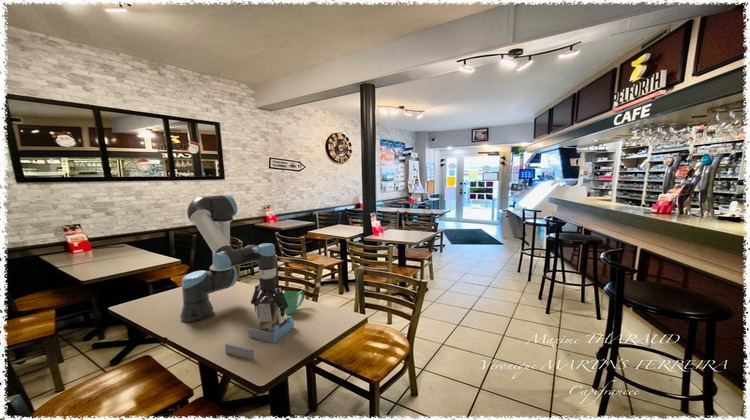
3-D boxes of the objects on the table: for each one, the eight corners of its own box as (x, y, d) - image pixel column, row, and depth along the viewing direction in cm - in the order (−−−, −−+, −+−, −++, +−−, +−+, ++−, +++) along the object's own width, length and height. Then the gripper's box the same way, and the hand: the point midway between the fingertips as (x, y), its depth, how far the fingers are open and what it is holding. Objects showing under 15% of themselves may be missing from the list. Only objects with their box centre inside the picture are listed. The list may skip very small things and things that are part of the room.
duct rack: (225, 352, 120) (224, 338, 119) (269, 323, 145) (269, 310, 144) (253, 359, 115) (252, 344, 114) (293, 327, 140) (293, 314, 139)
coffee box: (274, 336, 132) (272, 303, 130) (260, 337, 132) (258, 303, 130) (280, 326, 141) (278, 295, 139) (267, 327, 141) (265, 295, 139)
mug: (288, 318, 150) (287, 299, 149) (277, 313, 156) (276, 295, 155) (309, 308, 162) (309, 290, 161) (298, 303, 168) (298, 287, 167)
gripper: (241, 276, 134) (243, 319, 136) (284, 282, 126) (286, 328, 128) (252, 271, 141) (255, 313, 143) (294, 276, 133) (296, 320, 135)
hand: (270, 320), depth 136 cm, fingers open, 13 cm apart
